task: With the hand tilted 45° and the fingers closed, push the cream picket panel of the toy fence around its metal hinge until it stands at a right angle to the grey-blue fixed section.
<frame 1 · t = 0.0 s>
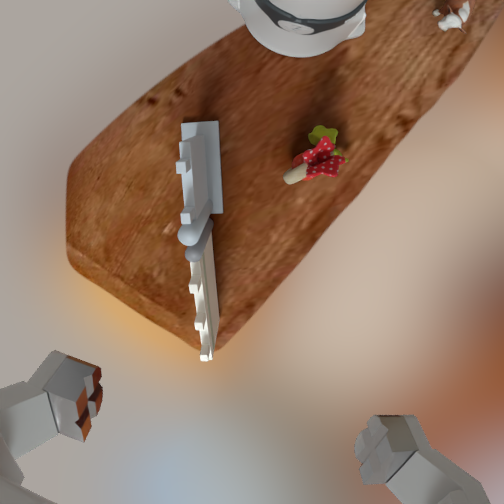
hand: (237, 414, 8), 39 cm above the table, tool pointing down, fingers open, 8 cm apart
bull figurine: (441, 11, 32), on the table
fence panel: (205, 293, 45), point 6 cm above the table, hinge at 0.0°
fence section: (207, 223, 47), on the table
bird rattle: (311, 156, 43), on the table
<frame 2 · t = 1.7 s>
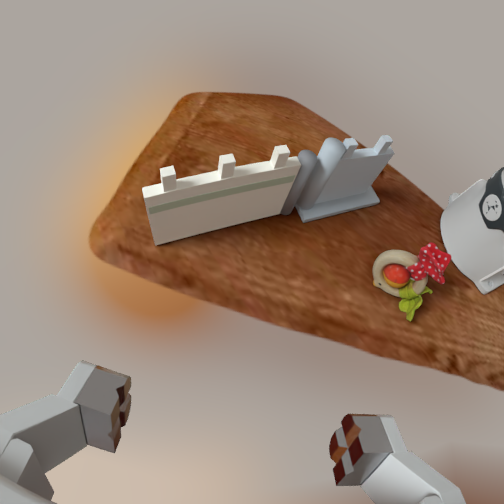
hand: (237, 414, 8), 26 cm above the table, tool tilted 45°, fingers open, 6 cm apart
fence panel: (231, 194, 34), point 6 cm above the table, hinge at 0.0°
fence section: (284, 209, 42), on the table
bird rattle: (388, 291, 40), on the table
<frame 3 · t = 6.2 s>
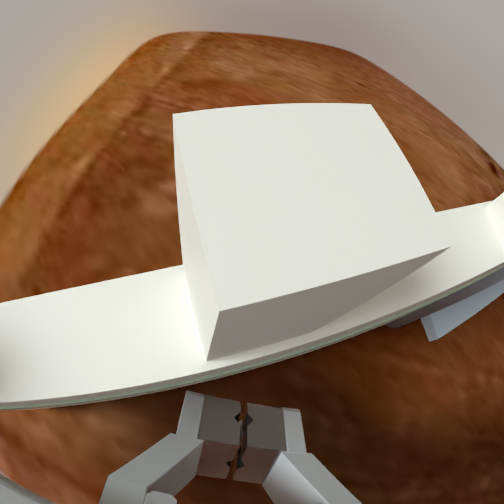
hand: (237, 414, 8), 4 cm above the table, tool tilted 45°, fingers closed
fence panel: (265, 335, 7), point 6 cm above the table, hinge at 3.0°, touching gripper
fence section: (389, 310, 15), on the table
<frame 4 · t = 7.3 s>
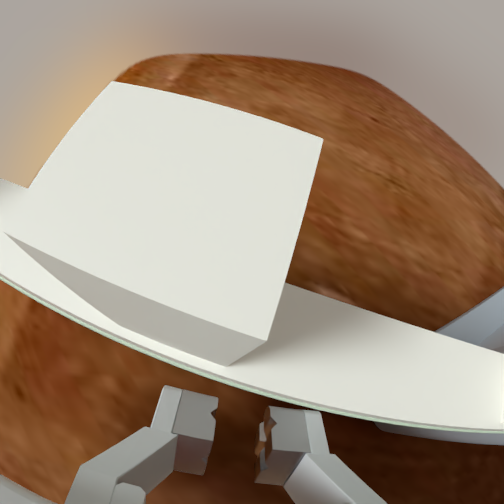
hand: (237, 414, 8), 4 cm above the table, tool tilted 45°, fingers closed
fence panel: (239, 358, 7), point 6 cm above the table, hinge at 36.3°, touching gripper
fence section: (387, 411, 13), on the table
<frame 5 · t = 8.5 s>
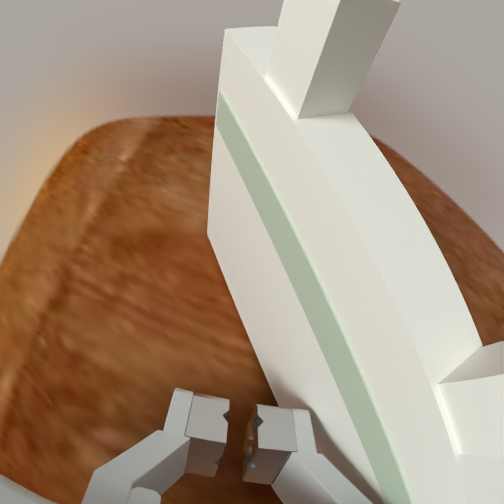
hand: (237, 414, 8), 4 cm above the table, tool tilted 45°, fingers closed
fence panel: (370, 435, 7), point 6 cm above the table, hinge at 86.4°, touching gripper
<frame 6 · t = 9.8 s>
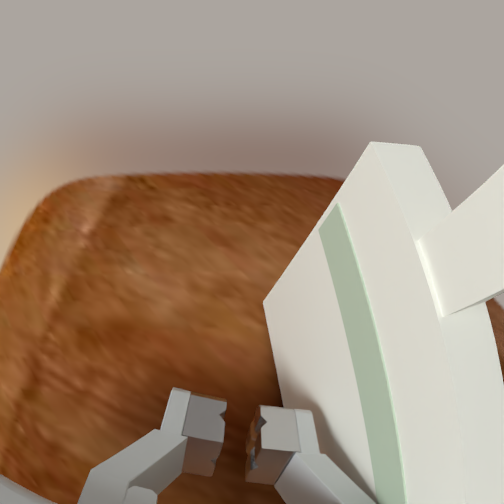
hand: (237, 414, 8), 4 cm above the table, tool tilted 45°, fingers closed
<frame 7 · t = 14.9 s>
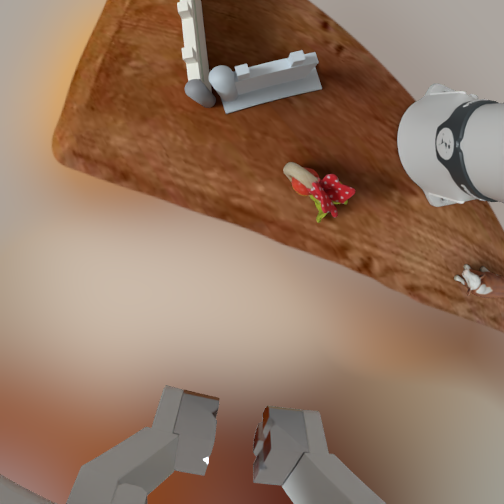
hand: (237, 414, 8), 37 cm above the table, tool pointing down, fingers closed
bull figurine: (468, 272, 47), on the table
fence panel: (193, 32, 30), point 6 cm above the table, hinge at 99.7°
fence section: (208, 100, 39), on the table
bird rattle: (308, 186, 43), on the table
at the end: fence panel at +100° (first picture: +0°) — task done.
